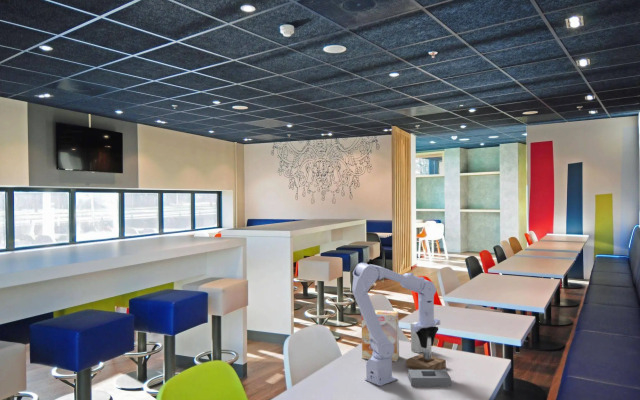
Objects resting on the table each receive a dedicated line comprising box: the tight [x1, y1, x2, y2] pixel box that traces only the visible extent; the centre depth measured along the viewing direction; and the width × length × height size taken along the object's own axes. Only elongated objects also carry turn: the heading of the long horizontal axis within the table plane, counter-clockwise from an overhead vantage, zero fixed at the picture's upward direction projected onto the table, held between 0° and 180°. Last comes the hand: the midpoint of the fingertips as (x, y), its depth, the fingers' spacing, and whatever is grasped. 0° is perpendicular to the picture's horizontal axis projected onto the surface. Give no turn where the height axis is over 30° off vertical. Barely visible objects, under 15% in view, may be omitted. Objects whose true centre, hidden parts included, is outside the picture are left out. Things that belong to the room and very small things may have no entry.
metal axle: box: [422, 336, 433, 359], centre depth 179 cm, size 3×3×8 cm
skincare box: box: [410, 320, 423, 354], centre depth 206 cm, size 6×4×12 cm
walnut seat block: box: [405, 353, 447, 370], centre depth 185 cm, size 11×11×3 cm
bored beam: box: [407, 369, 452, 387], centre depth 171 cm, size 14×8×3 cm, turn 87°
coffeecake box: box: [361, 309, 400, 362], centre depth 198 cm, size 15×7×20 cm, turn 73°
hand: (426, 346), depth 179 cm, fingers closed on metal axle, 3 cm apart
